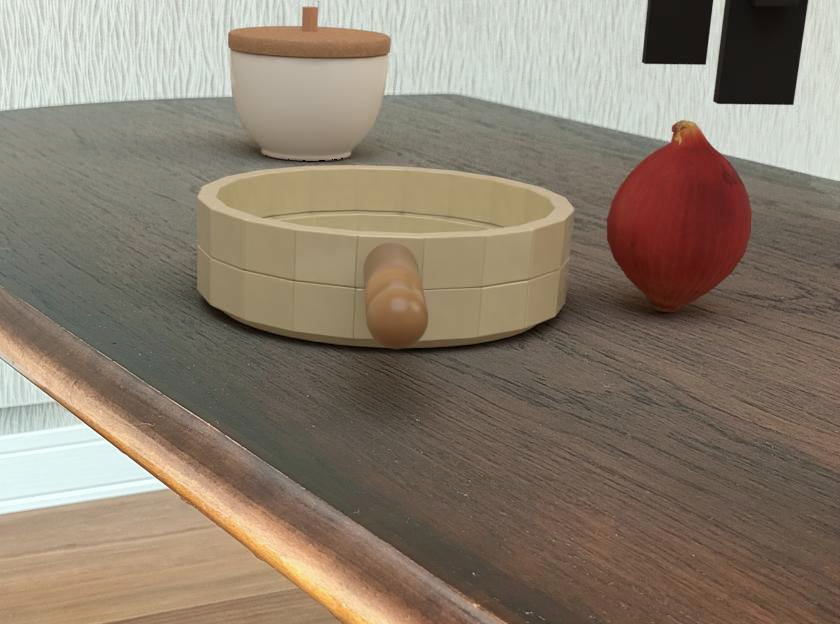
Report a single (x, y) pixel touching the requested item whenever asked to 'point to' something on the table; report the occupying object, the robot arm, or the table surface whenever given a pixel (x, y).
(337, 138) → the trinket box
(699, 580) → the table surface
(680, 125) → the onion
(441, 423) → the table surface
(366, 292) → the pan handle
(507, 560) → the table surface
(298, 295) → the pan
